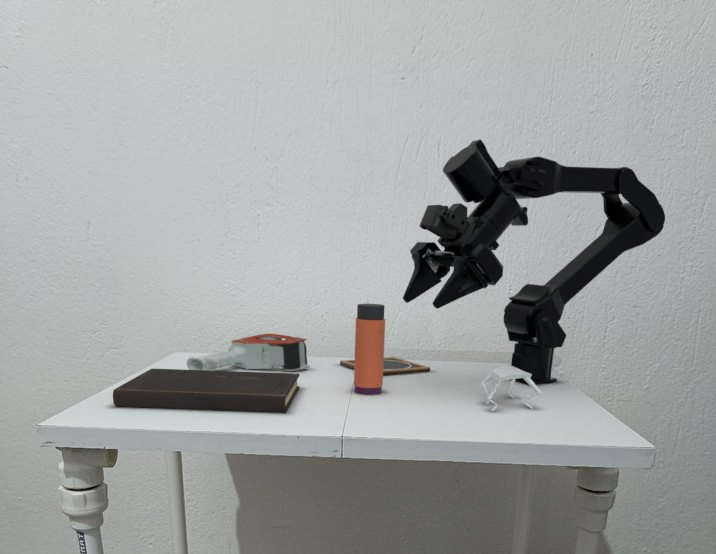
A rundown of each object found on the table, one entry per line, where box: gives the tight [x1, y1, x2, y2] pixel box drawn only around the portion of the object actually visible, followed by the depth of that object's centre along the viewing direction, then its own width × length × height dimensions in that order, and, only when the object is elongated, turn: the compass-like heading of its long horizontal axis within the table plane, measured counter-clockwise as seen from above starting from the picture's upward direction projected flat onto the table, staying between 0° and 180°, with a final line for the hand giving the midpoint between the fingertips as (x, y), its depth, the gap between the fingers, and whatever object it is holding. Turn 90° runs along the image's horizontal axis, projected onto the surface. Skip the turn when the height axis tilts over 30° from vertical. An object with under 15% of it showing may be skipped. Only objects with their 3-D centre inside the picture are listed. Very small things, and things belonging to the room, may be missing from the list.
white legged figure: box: [481, 365, 543, 412], centre depth 96 cm, size 12×8×5 cm
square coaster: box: [339, 356, 431, 377], centre depth 121 cm, size 12×12×1 cm
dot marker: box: [353, 303, 386, 395], centre depth 100 cm, size 4×4×13 cm
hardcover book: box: [112, 368, 300, 414], centre depth 95 cm, size 16×23×2 cm
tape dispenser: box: [186, 333, 310, 373], centre depth 117 cm, size 18×5×20 cm
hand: (419, 303), depth 101 cm, fingers open, 9 cm apart
